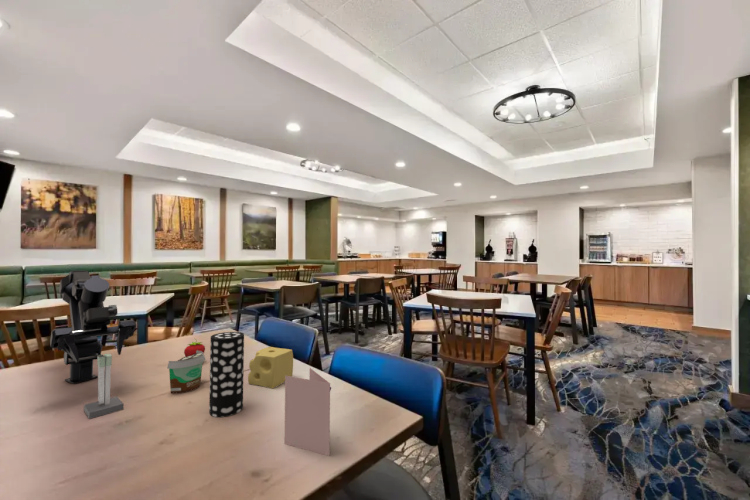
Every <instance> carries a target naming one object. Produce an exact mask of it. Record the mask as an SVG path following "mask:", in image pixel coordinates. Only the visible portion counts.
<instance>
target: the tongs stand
mask: <svg viewBox="0 0 750 500" xmlns="http://www.w3.org/2000/svg"><path fill="white" fill-rule="evenodd" d="M103 356H105V367H104V403H103V404H100V405H99V404H98V400H97V401H93V402H90V403H86V404H84V405H83V411H84V414H86V416H87V418H88V420H91V419H95V418H97V417H102V416H104V415H105V416H106V415H108V414H113V413H115V412H119V411H123V410H124V403H123V401H122V400H121V399H120V398H119V397H118V396H114V397H111V375H112V374H111V371H112V368H111V367H112V364H113V363H112V361H113V360H112V359H113V355H111V353H106V354H103Z"/></svg>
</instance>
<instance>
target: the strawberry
mask: <svg viewBox="0 0 750 500" xmlns="http://www.w3.org/2000/svg"><path fill="white" fill-rule="evenodd" d="M196 351H202V352H203V354H204V355H205V351H206V346H205V345H204V344H203V341H197V339H195V342H194V341H192V343H188V344H187V346H186V347H185V348H184V352H183V354H184V357H186V356H191V355H194V354H196Z"/></svg>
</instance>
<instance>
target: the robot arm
mask: <svg viewBox="0 0 750 500" xmlns="http://www.w3.org/2000/svg"><path fill="white" fill-rule="evenodd" d="M59 282H60V283H59V288H58V290H59V294H60V295H61V299H62V301H64V302H65V303H67V304H68V306H69V313H70V322H71V323H70V324H71V326H69V327H60V328H54V329H53V330H51V333H50V340H49V344H50V348H51V349H57V350H58V351H61V350H62V351H64V354H63V362H64V364H65V366H69V377H67V378H65V379H64V381H65V382H68V383H70V384H74V385H75V384H80V383H83V382H86V381H90V380H94V379H98V375H96V374H94V361H97V356H99V355H102V350H103V344H102V343H101V341H100V340H99V338H98V337H101V336H105V335H106V336H108V335H114V334H116V341H115V342H116V349H117V355H119V356H120V355H121V354H122V350H123V345H124V341H126V340H128V339H129V338H131V337H132V336H134V334H135V331H136V328H137V324H136V323H137V322H136V321H135V320H134V319H129V320H128V319H127V320H119V321H118V325H117V326H110V327H108V325H110V318H111V317H112V318H113V317H117V315H118V306H117V304H110V305H108V306H105V305H104V302H105V301H106V298H107V295H108V292H109V291H110V282H108V280H107V279H104V278H102V277H101V276H100V275H90V271H88V270H83V269H82V270H80V269H79V270H72V271H69V273H68V275H65V276H64V277H62V278H61V279H60V281H59Z"/></svg>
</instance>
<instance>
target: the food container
mask: <svg viewBox="0 0 750 500" xmlns="http://www.w3.org/2000/svg"><path fill="white" fill-rule="evenodd" d="M205 361H206V357H205V353H204V354H203V352H202V351H196V354H194V355H191V356H186V357H185V356H183V357H181V358H180V359H178V360H168V364H167V367H166V368H167V369H168V371H169V385H170V386H169V387H170V394H172V395H175V394H176V395H177V394H184V393H185V394H186V393H189V392H192V391H194V390H197V389H198V388H200V387H201V381H202V373H203V372H202V371H203V363H204V362H205Z"/></svg>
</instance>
